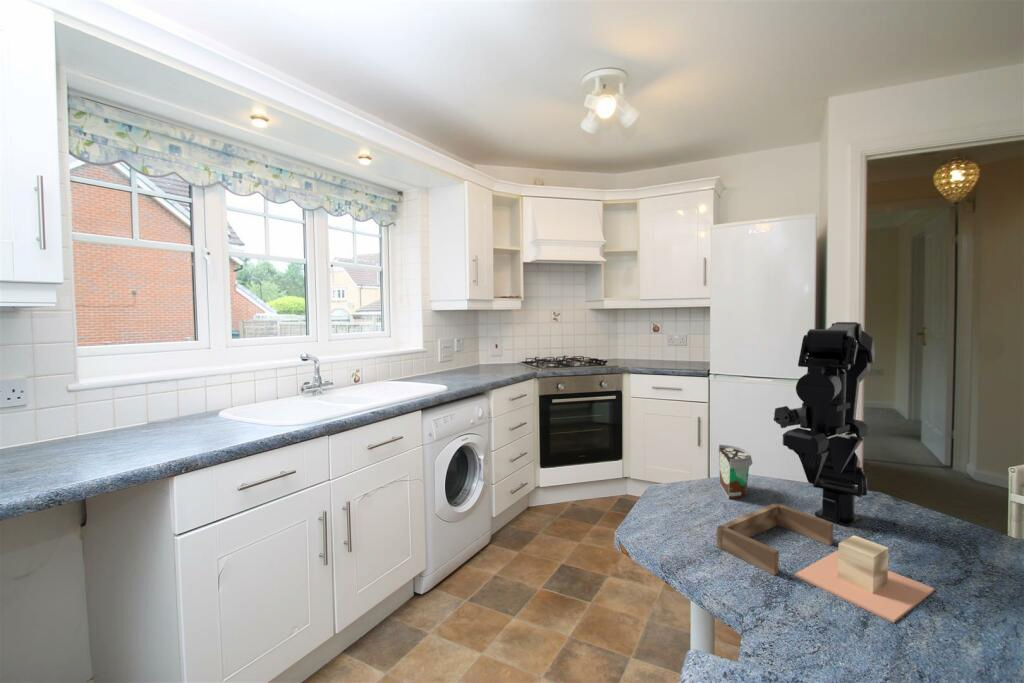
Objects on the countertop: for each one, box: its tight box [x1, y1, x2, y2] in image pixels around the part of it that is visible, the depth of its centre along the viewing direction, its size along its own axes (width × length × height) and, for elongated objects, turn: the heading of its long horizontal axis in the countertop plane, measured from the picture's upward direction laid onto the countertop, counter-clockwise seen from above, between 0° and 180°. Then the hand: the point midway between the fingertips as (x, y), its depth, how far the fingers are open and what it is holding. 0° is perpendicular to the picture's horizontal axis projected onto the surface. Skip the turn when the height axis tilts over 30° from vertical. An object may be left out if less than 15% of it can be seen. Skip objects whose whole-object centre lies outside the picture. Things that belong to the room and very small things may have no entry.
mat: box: [794, 549, 935, 624], centre depth 78 cm, size 14×14×1 cm
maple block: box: [837, 535, 889, 594], centre depth 78 cm, size 5×5×6 cm
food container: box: [718, 444, 753, 500], centre depth 115 cm, size 12×6×10 cm, turn 168°
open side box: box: [716, 502, 835, 576], centre depth 90 cm, size 19×11×4 cm, turn 120°
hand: (824, 477), depth 89 cm, fingers open, 9 cm apart
